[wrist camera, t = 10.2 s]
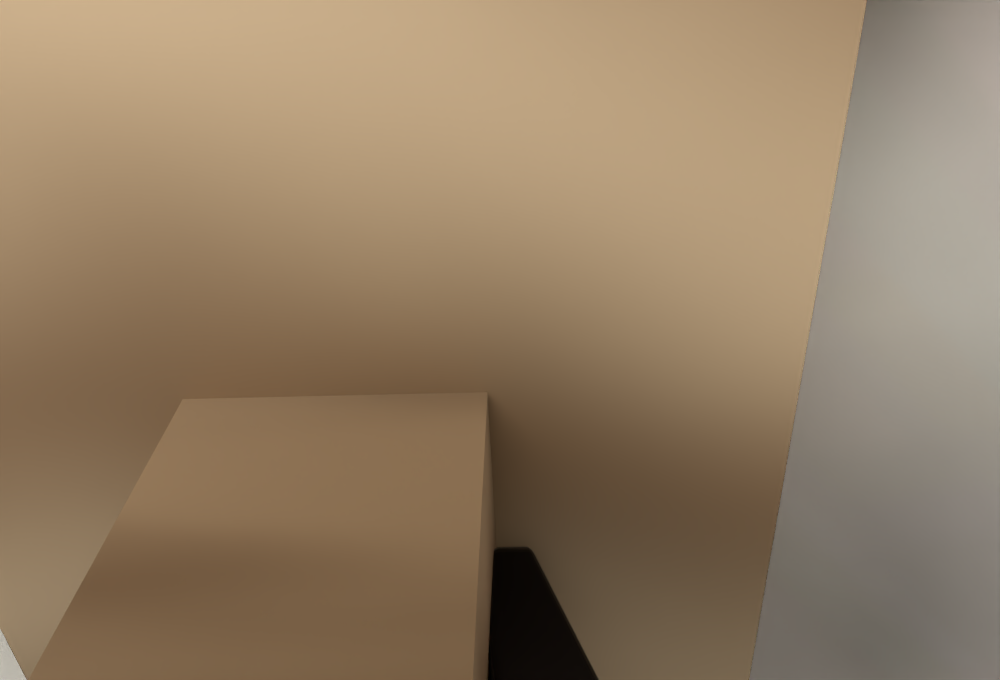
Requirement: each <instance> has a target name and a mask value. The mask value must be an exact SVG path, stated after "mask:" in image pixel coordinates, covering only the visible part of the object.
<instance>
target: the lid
mask: <svg viewBox="0 0 1000 680" xmlns="http://www.w3.org/2000/svg"><path fill="white" fill-rule="evenodd" d="M866 3H867V0H0V629H1V631H2V633H3V634H4V636H5V638H6V640H7V642H8V644H9V646H10V648H11V650H12V652H13V654H14V656H15V658H16V660H17V662H18V664H19V666H20V667H21V669H22V671H23V673H24V675H25V677H26V679H27V680H490V666H489V631H490V611H491V593H492V574H493V555H494V549H495V548H497V547H529V548H530V549H531V550H532V551H533V552H534V554H535V556H536V557H537V559H538V561H539V563H540V565H541V567H542V569H543V571H544V573H545V575H546V577H547V579H548V581H549V583H550V585H551V587H552V589H553V591H554V593H555V595H556V597H557V599H558V601H559V602H560V604H561V606H562V608H563V610H564V612H565V614H566V616H567V618H568V620H569V622H570V624H571V626H572V628H573V630H574V632H575V634H576V636H577V638H578V640H579V642H580V644H581V646H582V647H583V649H584V651H585V653H586V655H587V657H588V659H589V661H590V663H591V665H592V667H593V669H594V671H595V673H596V675H597V677H598V679H599V680H749V677H750V671H751V665H752V660H753V654H754V648H755V642H756V637H757V631H758V625H759V619H760V613H761V608H762V602H763V596H764V590H765V585H766V579H767V573H768V567H769V562H770V556H771V550H772V544H773V539H774V533H775V527H776V521H777V516H778V510H779V504H780V498H781V493H782V487H783V481H784V475H785V470H786V464H787V458H788V452H789V447H790V441H791V435H792V429H793V423H794V418H795V412H796V406H797V400H798V395H799V389H800V383H801V377H802V372H803V366H804V360H805V354H806V349H807V343H808V337H809V331H810V326H811V320H812V314H813V308H814V303H815V297H816V291H817V285H818V280H819V274H820V268H821V262H822V256H823V251H824V245H825V239H826V233H827V228H828V222H829V216H830V210H831V205H832V199H833V193H834V187H835V182H836V176H837V170H838V164H839V159H840V153H841V147H842V141H843V136H844V130H845V124H846V118H847V113H848V107H849V101H850V95H851V90H852V84H853V78H854V72H855V66H856V61H857V55H858V49H859V43H860V38H861V32H862V26H863V20H864V15H865V9H866Z"/></svg>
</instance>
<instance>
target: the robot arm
mask: <svg viewBox="0 0 1000 680" xmlns="http://www.w3.org/2000/svg"><path fill="white" fill-rule="evenodd" d="M489 666H490V680H599V679H598V677H597V675H596V673H595V671H594V669H593V667H592V665H591V663H590V661H589V659H588V657H587V655H586V653H585V651H584V649H583V647H582V646H581V644H580V642H579V640H578V638H577V636H576V634H575V632H574V630H573V628H572V626H571V624H570V622H569V620H568V618H567V616H566V614H565V612H564V610H563V608H562V606H561V604H560V602H559V601H558V599H557V597H556V595H555V593H554V591H553V589H552V587H551V585H550V583H549V581H548V579H547V577H546V575H545V573H544V571H543V569H542V567H541V565H540V563H539V561H538V559H537V557H536V556H535V554H534V552H533V551H532V550H531V549H530V548H529V547H497V548H495V549H494V555H493V574H492V593H491V611H490V631H489Z"/></svg>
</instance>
